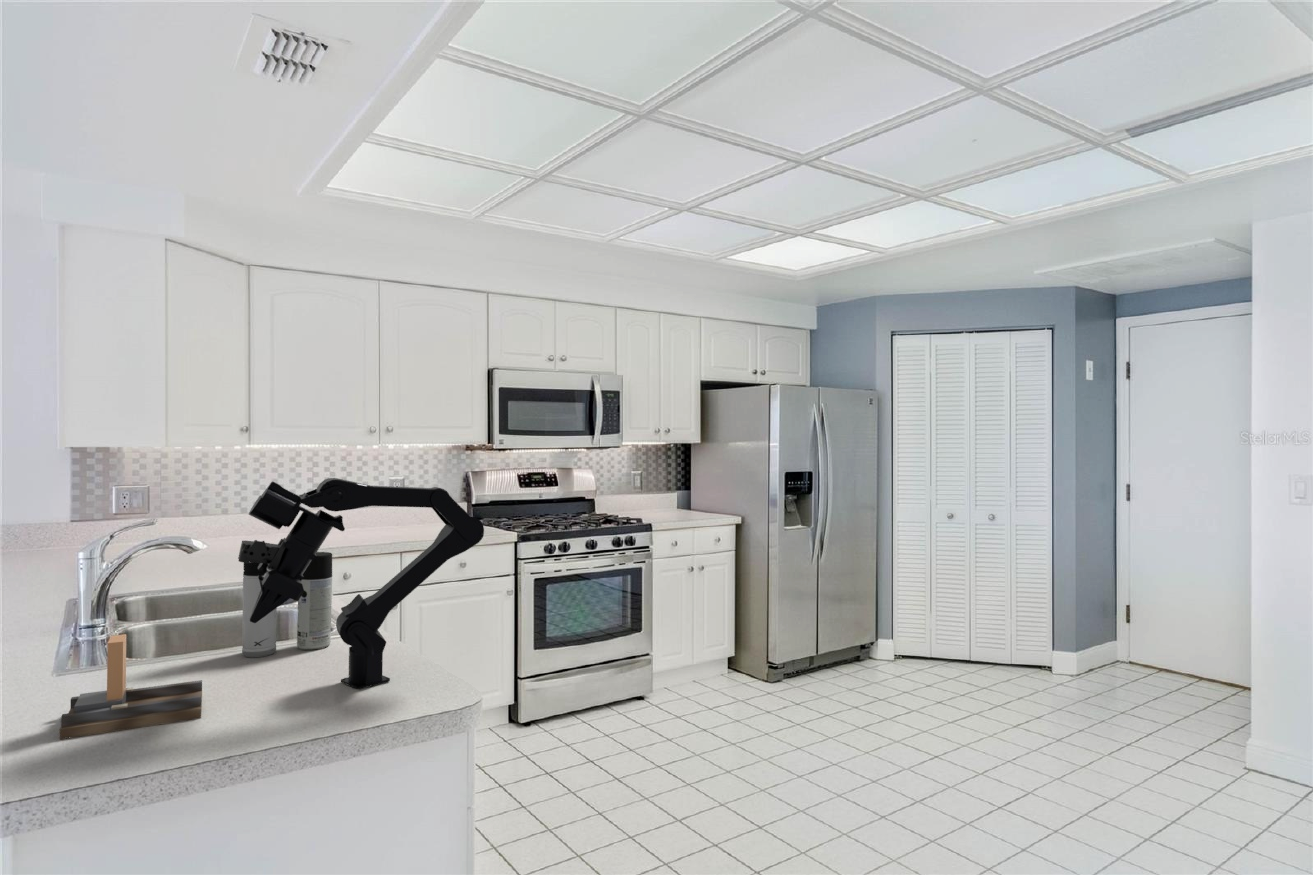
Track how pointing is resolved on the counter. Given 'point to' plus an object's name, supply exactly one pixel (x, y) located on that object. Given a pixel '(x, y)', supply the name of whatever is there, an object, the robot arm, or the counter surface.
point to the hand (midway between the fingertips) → (252, 621)
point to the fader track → (137, 710)
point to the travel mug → (263, 633)
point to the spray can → (315, 604)
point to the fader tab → (109, 679)
